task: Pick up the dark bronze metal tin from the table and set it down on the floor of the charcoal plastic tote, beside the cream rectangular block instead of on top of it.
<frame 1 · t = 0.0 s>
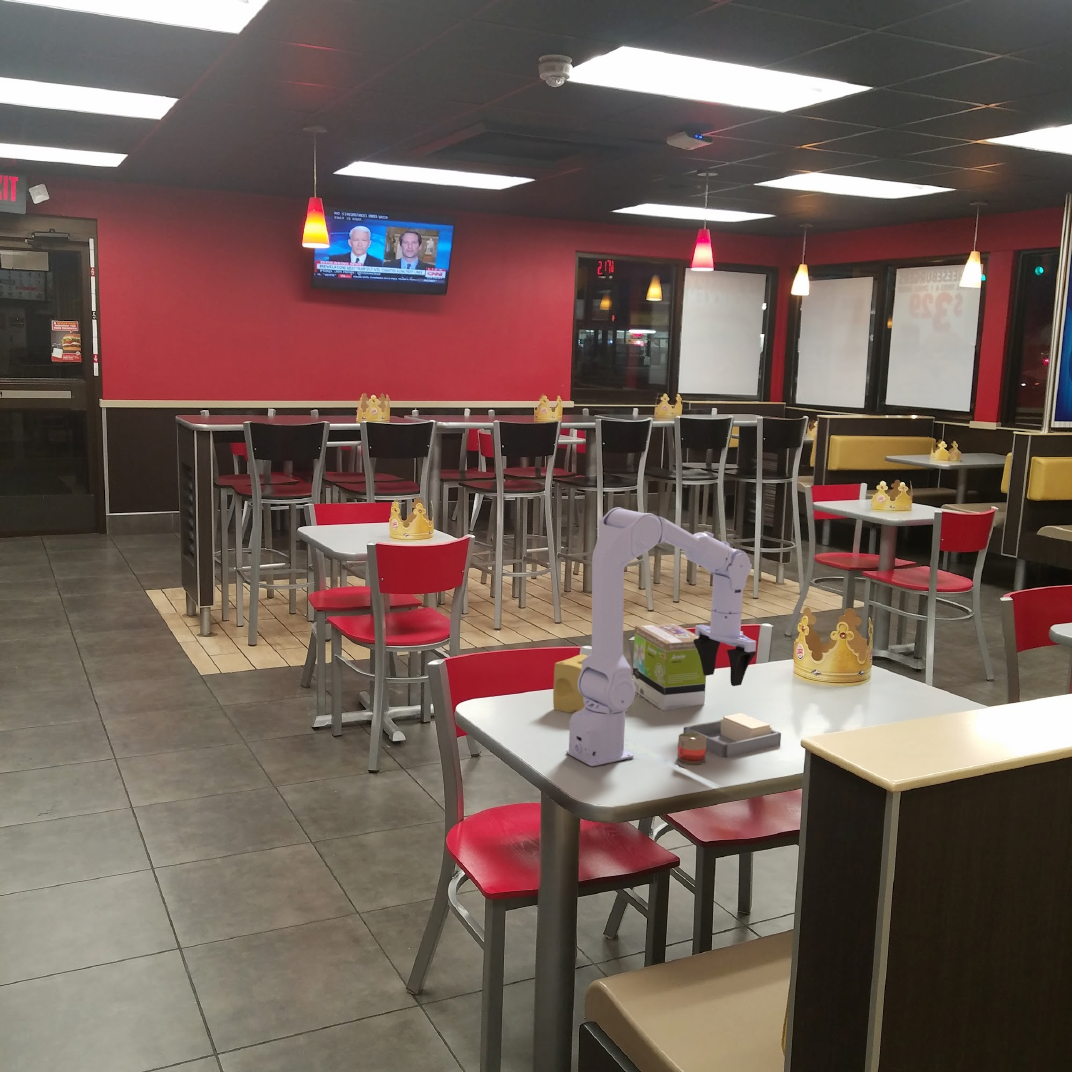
hand: (722, 679, 200), 10 cm above the table, tool pointing down, fingers open, 7 cm apart
cream rectangular block: (745, 738, 195), point 1 cm above the table, touching tote
cheese: (586, 710, 213), on the table
tin: (690, 764, 184), on the table
tote: (731, 745, 194), on the table
tea box: (667, 700, 221), on the table
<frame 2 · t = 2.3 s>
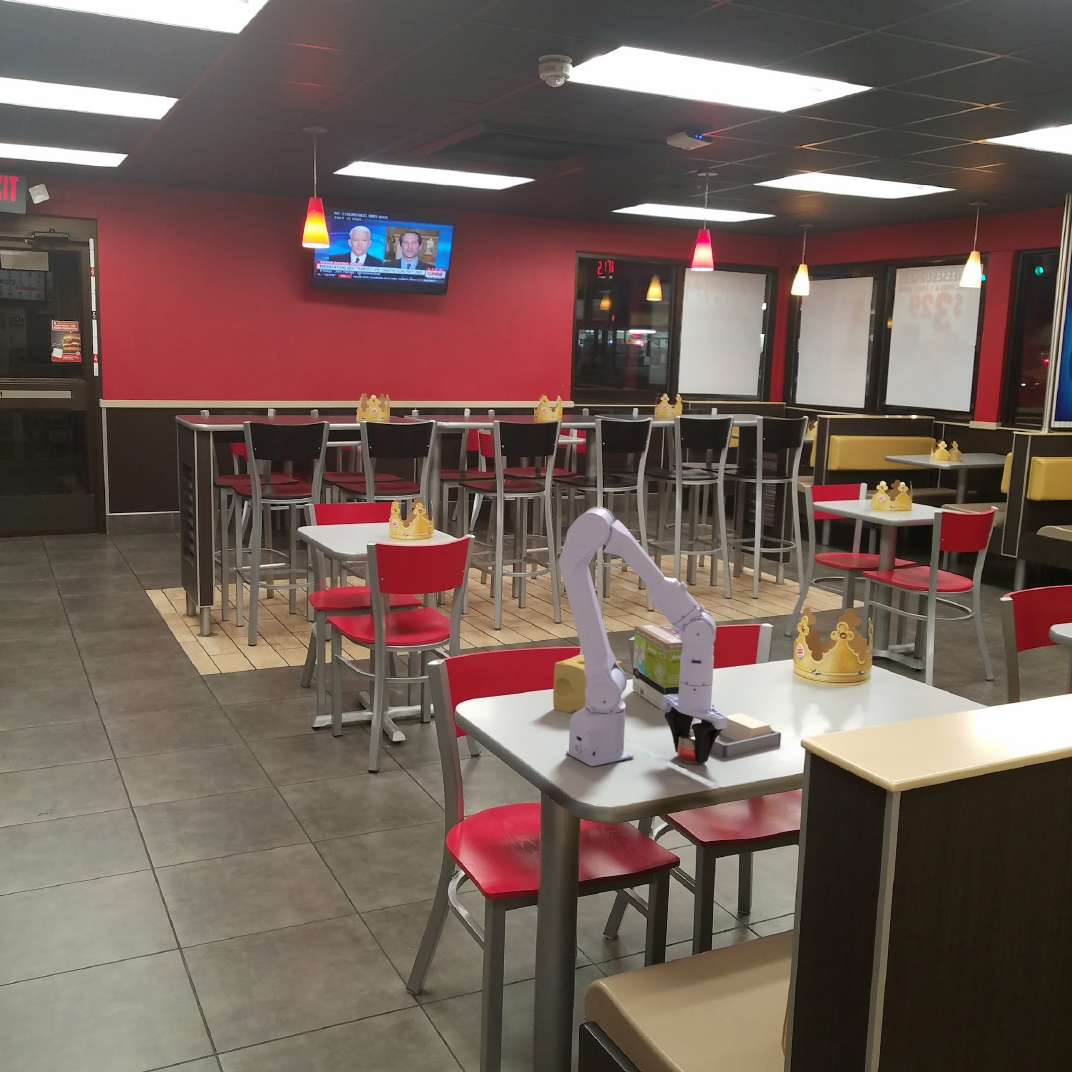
hand: (691, 756, 183), 1 cm above the table, tool pointing down, fingers closed on tin, 5 cm apart
tin: (690, 764, 184), on the table, touching gripper
everything else where it was.
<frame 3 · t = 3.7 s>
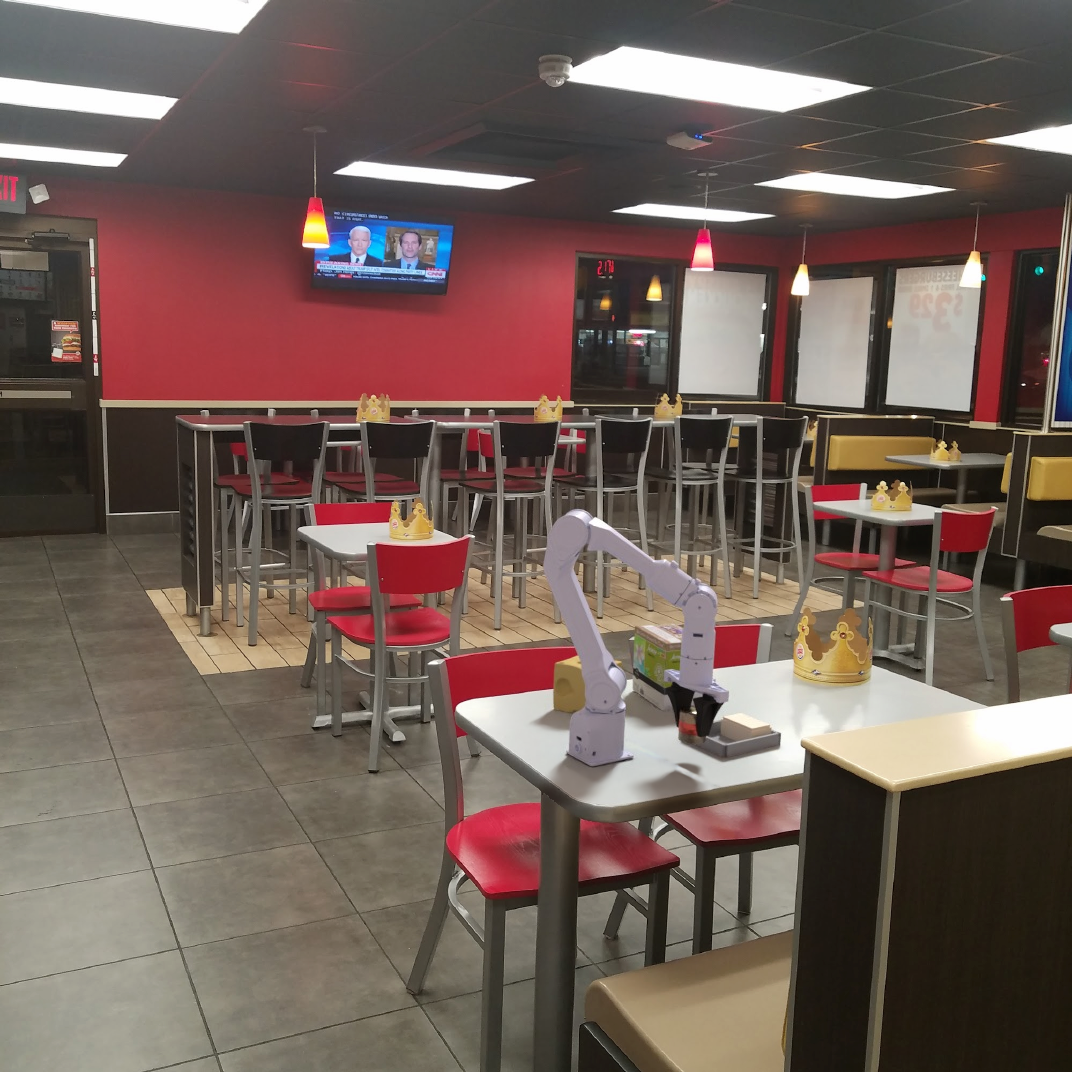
hand: (692, 731, 183), 6 cm above the table, tool pointing down, fingers closed on tin, 5 cm apart
tin: (692, 739, 183), point 5 cm above the table, touching gripper
everything else where it was.
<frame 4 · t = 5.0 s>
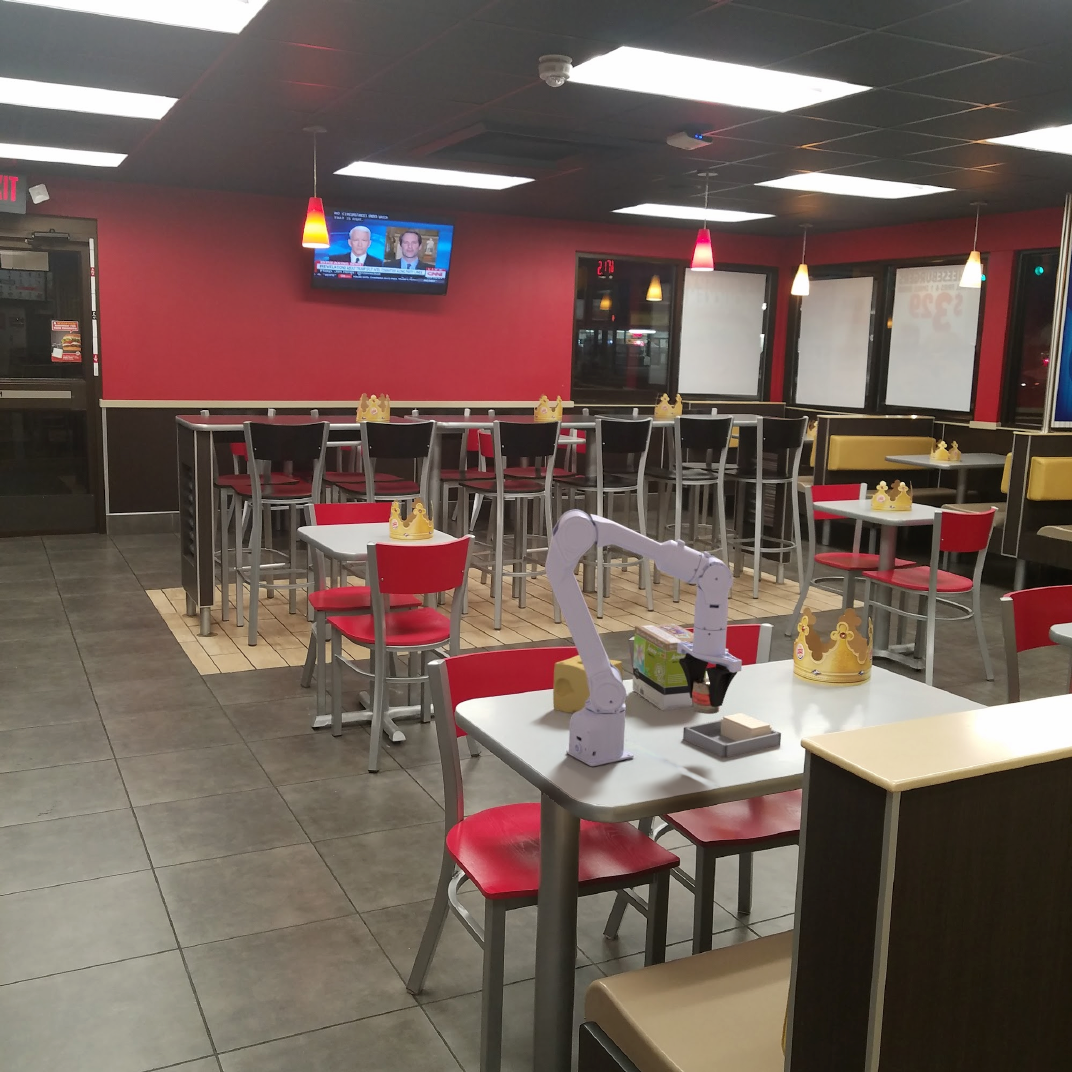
hand: (705, 701, 185), 10 cm above the table, tool pointing down, fingers closed on tin, 5 cm apart
tin: (705, 709, 185), point 9 cm above the table, touching gripper
everything else where it was.
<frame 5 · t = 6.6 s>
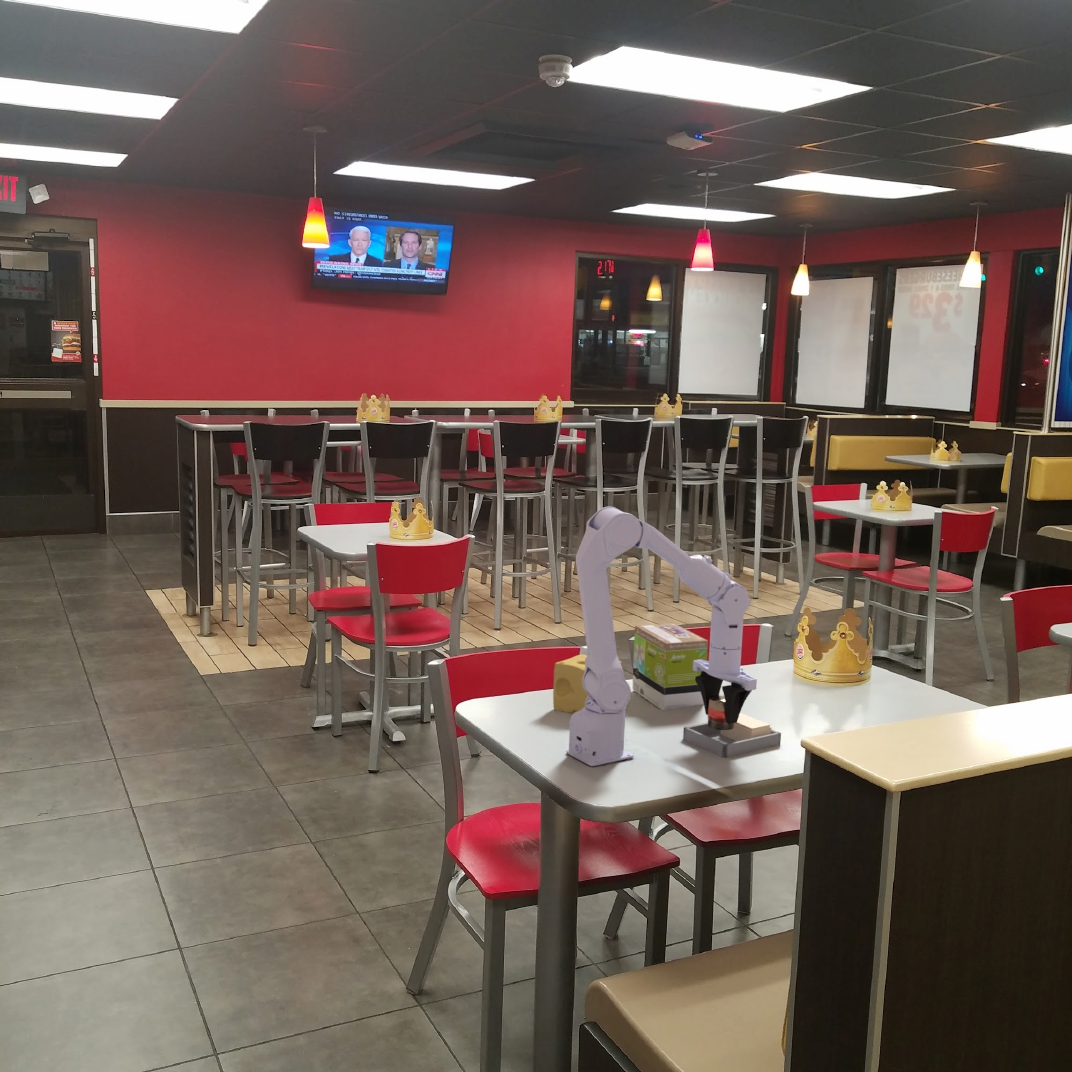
hand: (721, 718, 191), 6 cm above the table, tool pointing down, fingers closed on tin, 5 cm apart
tin: (720, 725, 191), point 4 cm above the table, touching gripper
everything else where it was.
when the fingers open (4 cm above the table, at t = 7.9 s): tin drops 1 cm, resting on tote.
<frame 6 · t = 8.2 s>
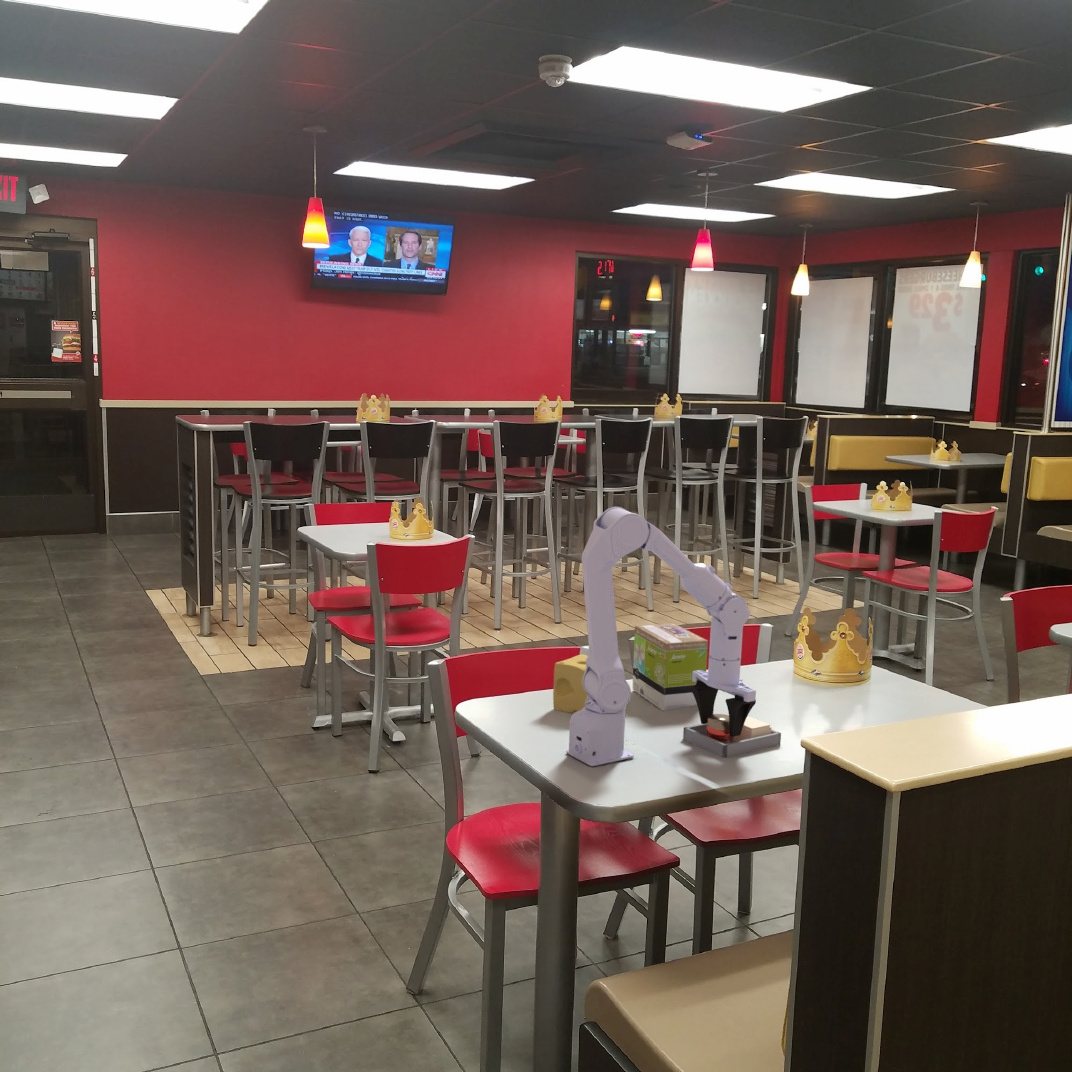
hand: (720, 729, 191), 4 cm above the table, tool pointing down, fingers open, 7 cm apart
tin: (719, 744, 192), point 1 cm above the table, touching tote
everything else where it was.
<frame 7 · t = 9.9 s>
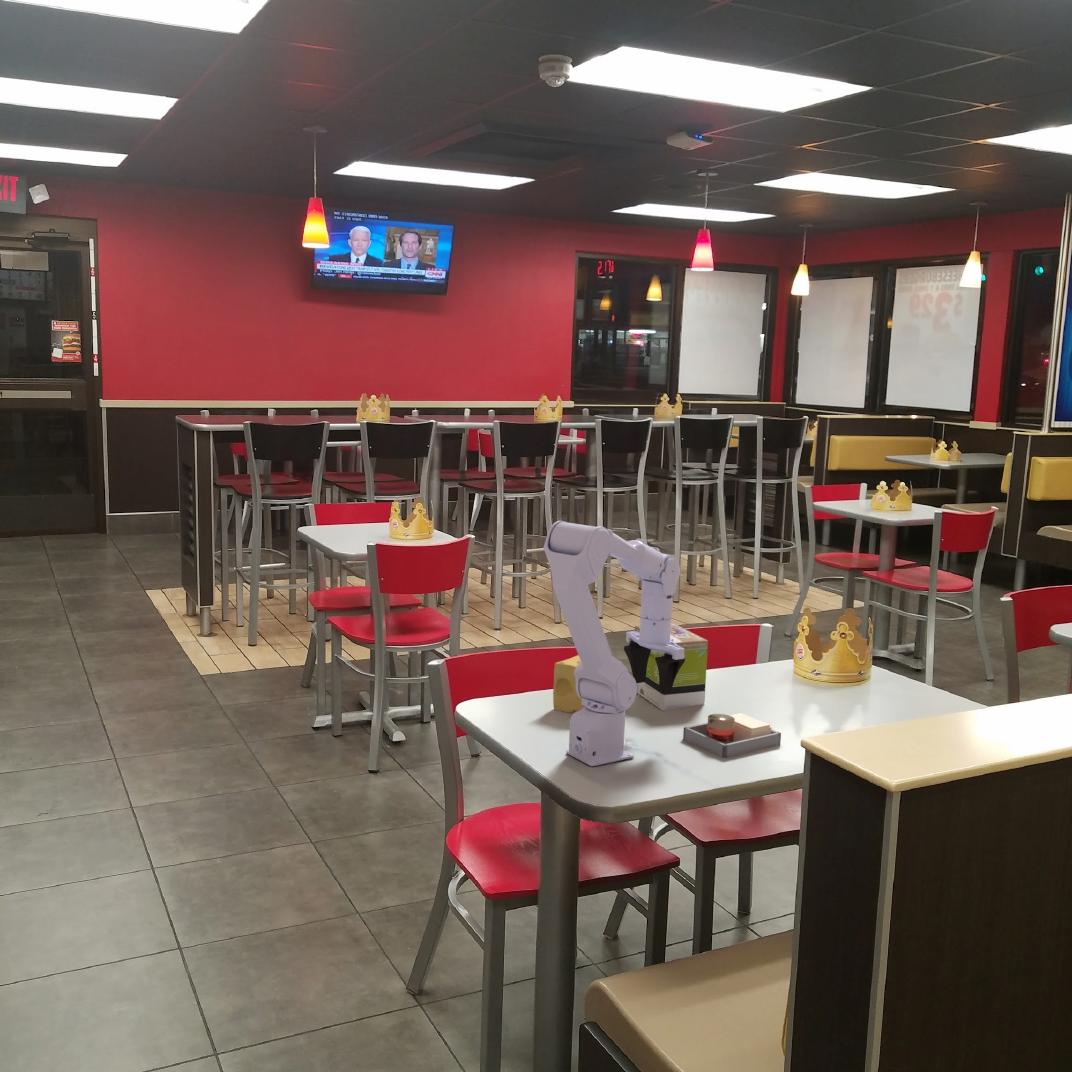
hand: (652, 687, 196), 9 cm above the table, tool pointing down, fingers open, 7 cm apart
nothing on the table moved.
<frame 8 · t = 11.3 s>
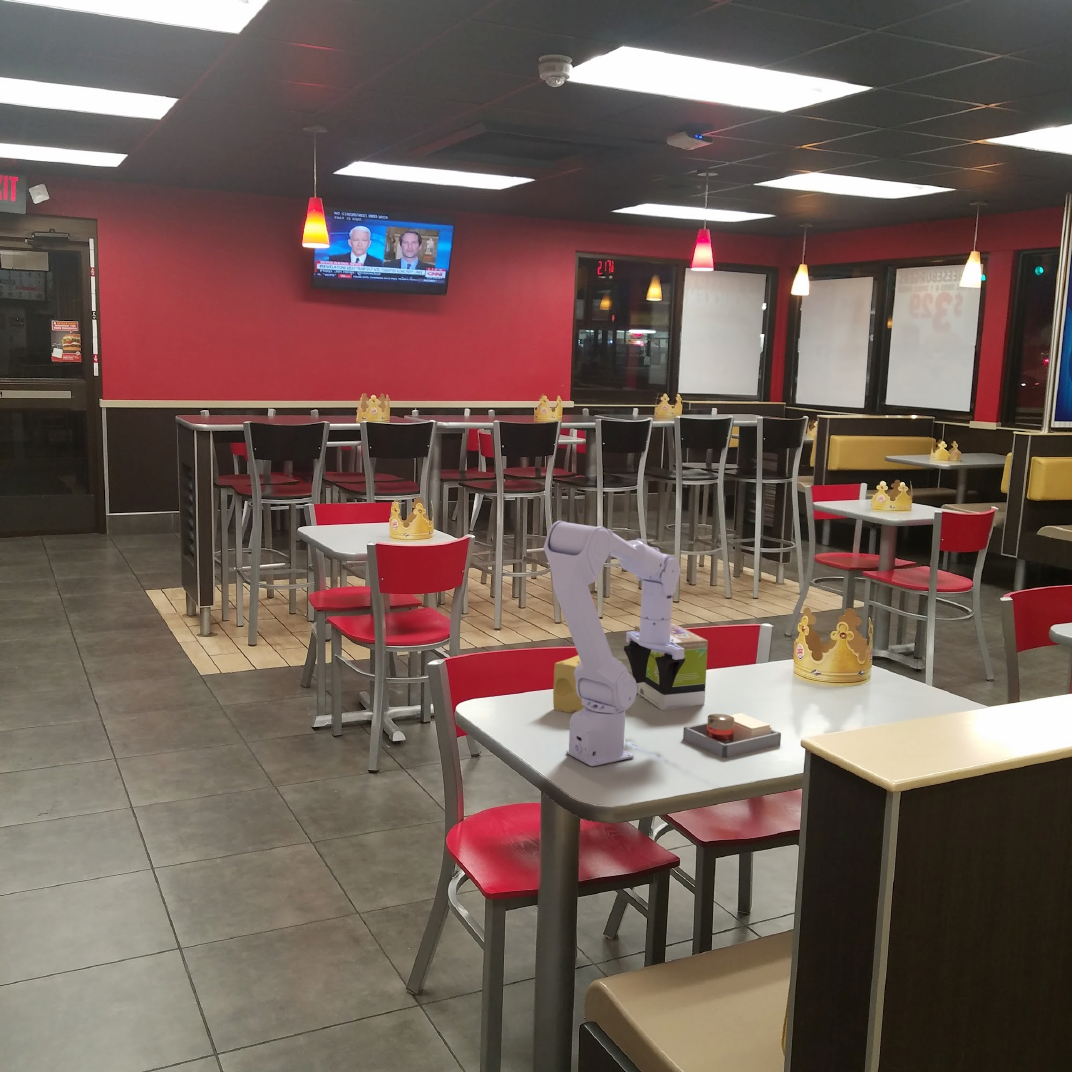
hand: (652, 687, 196), 9 cm above the table, tool pointing down, fingers open, 7 cm apart
nothing on the table moved.
at the end: tin 0.2 cm from the target spot on the tote, point 0.8 cm above the tote's base; tin tilted 1°; cream rectangular block moved 0.0 cm from its start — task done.
